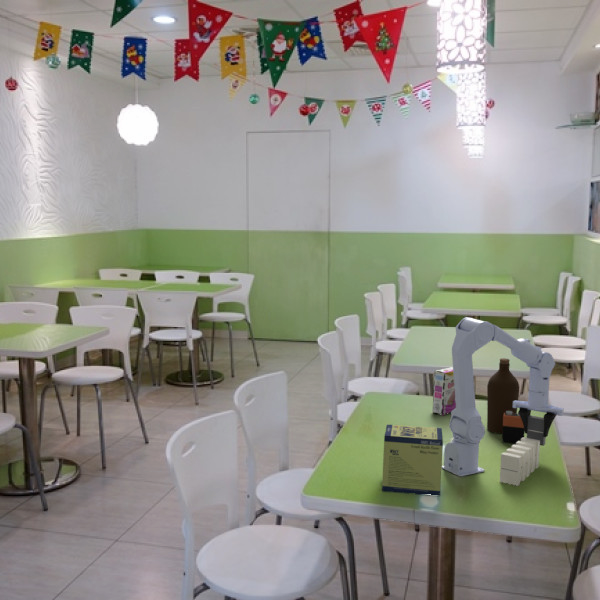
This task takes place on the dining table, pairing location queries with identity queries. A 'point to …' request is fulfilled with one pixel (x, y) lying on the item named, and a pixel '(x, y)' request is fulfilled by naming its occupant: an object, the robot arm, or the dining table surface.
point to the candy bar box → (444, 391)
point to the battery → (512, 428)
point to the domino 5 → (536, 429)
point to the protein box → (412, 459)
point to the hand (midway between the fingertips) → (536, 434)
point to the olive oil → (501, 396)
